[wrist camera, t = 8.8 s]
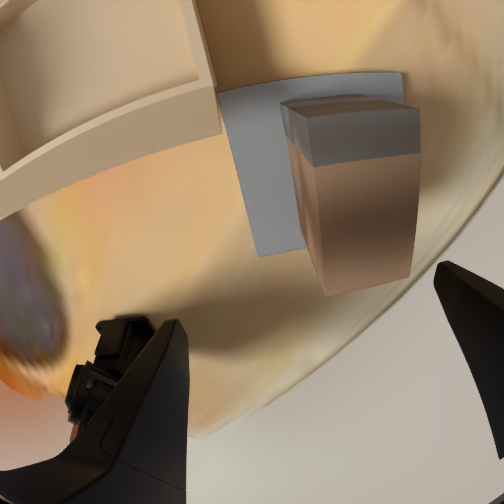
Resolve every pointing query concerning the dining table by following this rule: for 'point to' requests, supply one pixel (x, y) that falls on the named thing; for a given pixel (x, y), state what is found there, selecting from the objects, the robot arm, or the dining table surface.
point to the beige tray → (97, 89)
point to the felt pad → (283, 146)
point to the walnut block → (355, 186)
